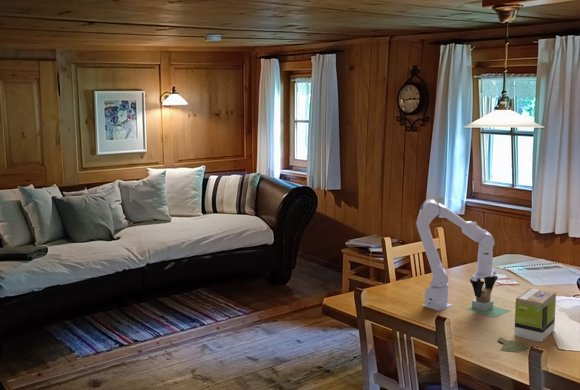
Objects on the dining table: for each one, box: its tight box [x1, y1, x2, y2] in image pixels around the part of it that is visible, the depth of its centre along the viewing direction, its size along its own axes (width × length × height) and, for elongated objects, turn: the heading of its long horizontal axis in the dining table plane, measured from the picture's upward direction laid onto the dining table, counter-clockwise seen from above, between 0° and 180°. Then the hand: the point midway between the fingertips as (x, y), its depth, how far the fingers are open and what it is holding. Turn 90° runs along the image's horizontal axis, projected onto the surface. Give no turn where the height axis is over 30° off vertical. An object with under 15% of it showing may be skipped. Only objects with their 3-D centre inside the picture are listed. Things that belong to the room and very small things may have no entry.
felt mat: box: [466, 305, 511, 319], centre depth 257 cm, size 12×13×1 cm
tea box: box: [513, 287, 557, 343], centre depth 232 cm, size 15×10×15 cm
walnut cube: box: [475, 286, 492, 303], centre depth 258 cm, size 4×4×5 cm
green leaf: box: [497, 337, 531, 354], centre depth 218 cm, size 11×18×1 cm, turn 36°
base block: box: [471, 298, 494, 311], centre depth 259 cm, size 6×6×3 cm
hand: (483, 294), depth 258 cm, fingers open, 7 cm apart
